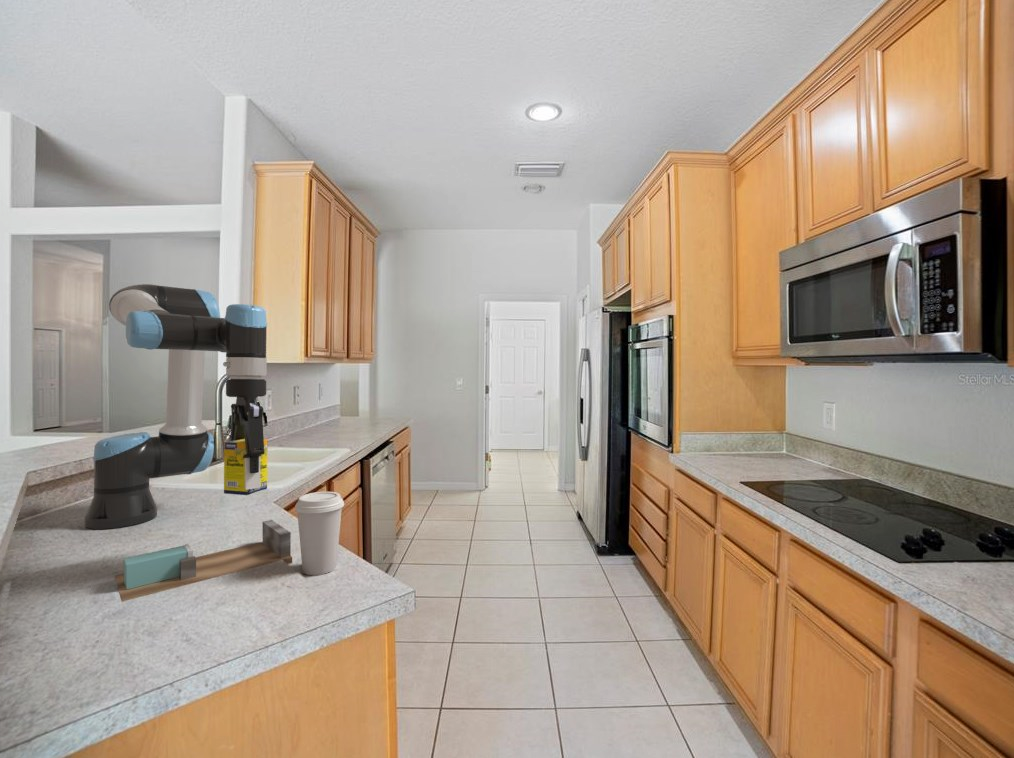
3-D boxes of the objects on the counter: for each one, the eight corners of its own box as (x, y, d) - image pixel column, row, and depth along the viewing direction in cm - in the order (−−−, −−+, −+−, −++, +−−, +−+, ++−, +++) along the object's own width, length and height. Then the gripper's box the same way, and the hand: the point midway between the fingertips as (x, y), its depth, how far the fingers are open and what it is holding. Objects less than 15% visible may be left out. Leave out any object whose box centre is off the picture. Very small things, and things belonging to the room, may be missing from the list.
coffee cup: (295, 582, 89) (295, 505, 89) (293, 564, 98) (293, 493, 98) (347, 572, 94) (347, 499, 94) (340, 556, 102) (340, 488, 102)
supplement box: (247, 495, 95) (247, 442, 95) (222, 494, 96) (223, 441, 96) (268, 488, 101) (268, 438, 101) (244, 487, 102) (244, 437, 102)
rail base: (114, 581, 89) (114, 549, 89) (270, 545, 109) (270, 518, 109) (122, 608, 79) (122, 572, 79) (292, 562, 99) (292, 533, 99)
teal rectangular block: (123, 581, 86) (123, 557, 86) (187, 566, 93) (187, 544, 93) (126, 590, 83) (126, 564, 83) (192, 573, 90) (192, 550, 90)
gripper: (214, 377, 103) (213, 479, 103) (240, 378, 88) (240, 497, 88) (251, 377, 108) (250, 474, 109) (282, 378, 94) (282, 490, 94)
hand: (246, 484), depth 99 cm, fingers closed on supplement box, 8 cm apart
